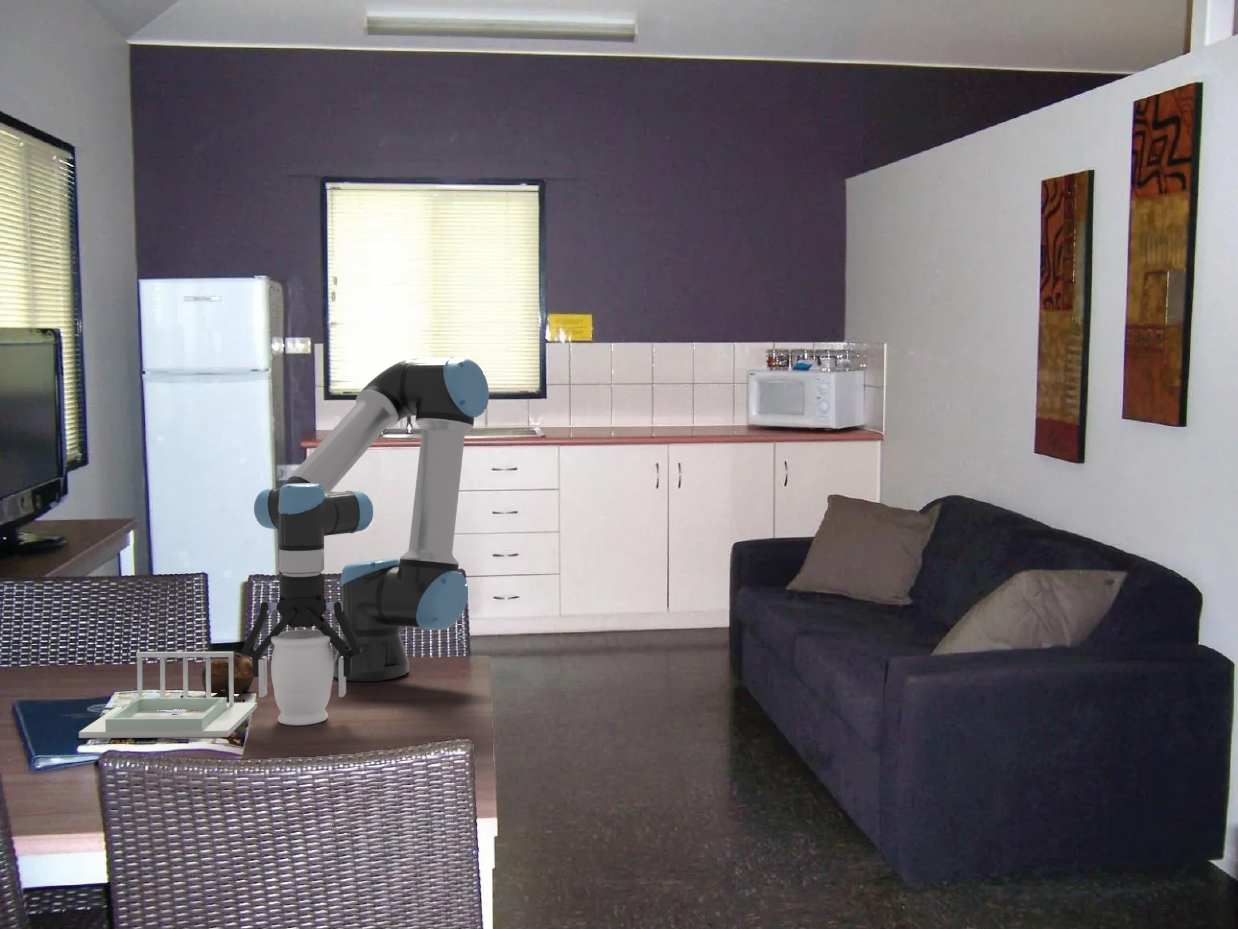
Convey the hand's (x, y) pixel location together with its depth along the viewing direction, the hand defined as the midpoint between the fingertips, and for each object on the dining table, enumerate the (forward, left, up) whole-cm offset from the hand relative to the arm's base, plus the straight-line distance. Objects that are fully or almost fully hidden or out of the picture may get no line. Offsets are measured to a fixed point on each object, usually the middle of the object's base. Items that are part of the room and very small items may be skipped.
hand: (302, 695), depth 210 cm
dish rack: (+22, +1, -4) cm, 22 cm away
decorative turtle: (+18, -20, -5) cm, 27 cm away
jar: (0, 0, -4) cm, 4 cm away
